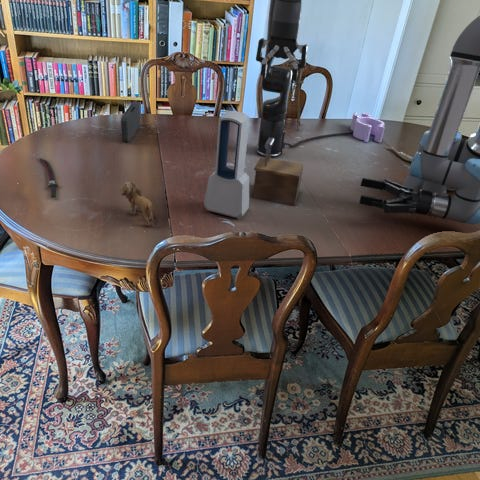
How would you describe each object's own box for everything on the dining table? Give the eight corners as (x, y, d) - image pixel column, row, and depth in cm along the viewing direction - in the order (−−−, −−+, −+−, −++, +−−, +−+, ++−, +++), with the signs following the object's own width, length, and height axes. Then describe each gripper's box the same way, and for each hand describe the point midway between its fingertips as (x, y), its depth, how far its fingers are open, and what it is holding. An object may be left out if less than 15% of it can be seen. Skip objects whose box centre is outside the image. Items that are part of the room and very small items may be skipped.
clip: (343, 126, 223) (346, 112, 219) (367, 127, 225) (371, 113, 221) (360, 142, 206) (364, 127, 202) (386, 142, 209) (390, 127, 205)
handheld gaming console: (134, 123, 200) (133, 100, 195) (140, 124, 200) (140, 100, 195) (121, 142, 181) (119, 117, 175) (128, 143, 181) (127, 118, 175)
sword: (61, 197, 141) (61, 193, 140) (50, 198, 139) (50, 194, 139) (49, 160, 164) (48, 156, 163) (39, 160, 163) (39, 157, 162)
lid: (254, 170, 148) (257, 143, 143) (260, 158, 156) (263, 133, 151) (299, 178, 146) (303, 152, 141) (303, 166, 154) (307, 141, 149)
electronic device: (248, 210, 145) (259, 115, 129) (241, 221, 139) (251, 123, 123) (211, 201, 148) (218, 107, 132) (202, 211, 142) (207, 114, 125)
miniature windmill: (298, 130, 211) (309, 61, 195) (279, 127, 212) (289, 59, 196) (300, 124, 219) (311, 57, 203) (282, 121, 220) (292, 55, 204)
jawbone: (425, 170, 187) (427, 165, 186) (378, 154, 198) (379, 150, 196) (434, 162, 193) (435, 157, 192) (388, 148, 203) (389, 143, 202)
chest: (252, 197, 153) (255, 170, 148) (258, 184, 161) (262, 159, 156) (294, 205, 151) (299, 178, 146) (298, 192, 159) (303, 166, 154)
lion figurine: (118, 210, 138) (116, 182, 133) (132, 204, 141) (131, 177, 137) (151, 229, 130) (150, 201, 126) (165, 223, 134) (165, 195, 129)
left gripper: (258, 17, 126) (251, 78, 135) (310, 24, 124) (300, 86, 132) (263, 14, 132) (257, 73, 141) (313, 21, 130) (303, 80, 139)
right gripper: (429, 233, 136) (356, 218, 139) (422, 197, 157) (359, 185, 160) (438, 210, 132) (362, 196, 135) (429, 177, 153) (364, 165, 156)
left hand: (278, 79), depth 137 cm, fingers open, 8 cm apart
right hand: (360, 190), depth 148 cm, fingers open, 13 cm apart
